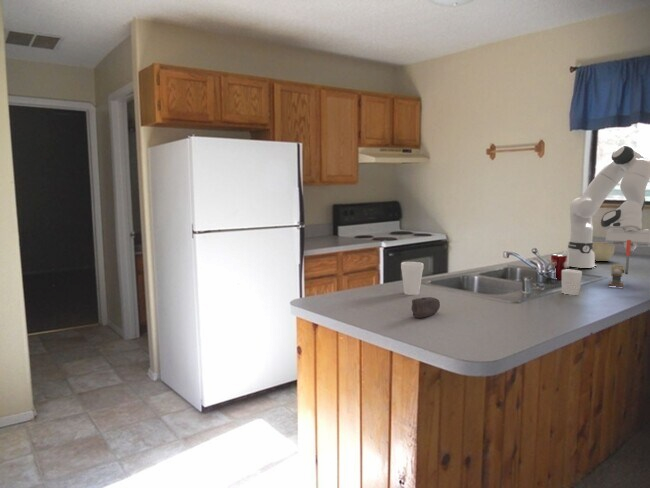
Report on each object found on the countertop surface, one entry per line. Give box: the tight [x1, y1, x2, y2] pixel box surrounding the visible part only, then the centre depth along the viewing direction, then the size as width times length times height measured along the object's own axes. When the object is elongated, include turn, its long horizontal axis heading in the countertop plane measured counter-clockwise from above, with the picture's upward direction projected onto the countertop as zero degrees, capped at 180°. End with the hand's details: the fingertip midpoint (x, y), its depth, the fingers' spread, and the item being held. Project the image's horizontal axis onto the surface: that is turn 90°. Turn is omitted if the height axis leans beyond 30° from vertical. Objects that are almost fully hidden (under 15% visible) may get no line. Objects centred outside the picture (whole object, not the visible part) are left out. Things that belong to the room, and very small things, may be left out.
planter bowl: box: [592, 241, 616, 262], centre depth 301 cm, size 16×16×11 cm
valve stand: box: [608, 264, 625, 288], centre depth 229 cm, size 10×6×9 cm, turn 150°
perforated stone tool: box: [410, 296, 441, 319], centre depth 178 cm, size 15×5×7 cm, turn 129°
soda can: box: [550, 253, 568, 281], centre depth 246 cm, size 7×7×12 cm
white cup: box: [561, 268, 583, 295], centre depth 212 cm, size 8×8×10 cm
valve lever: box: [624, 240, 632, 275], centre depth 226 cm, size 2×2×16 cm
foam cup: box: [400, 261, 425, 296], centre depth 213 cm, size 10×9×13 cm
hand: (629, 251), depth 227 cm, fingers closed
